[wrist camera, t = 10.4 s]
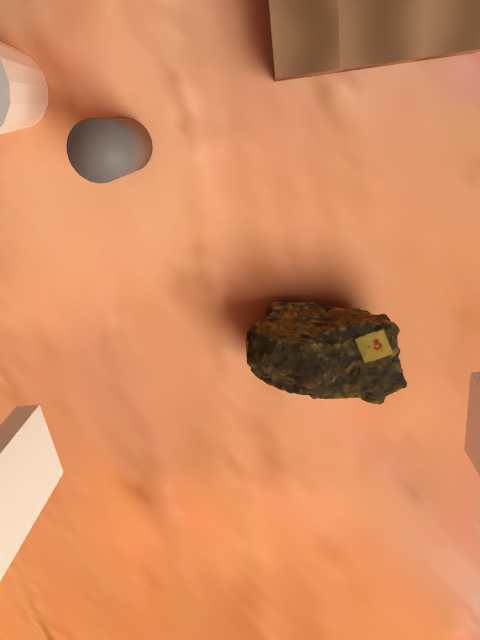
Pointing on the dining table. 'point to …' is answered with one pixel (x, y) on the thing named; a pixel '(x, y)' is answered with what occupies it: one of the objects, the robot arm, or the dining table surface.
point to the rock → (326, 351)
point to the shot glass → (20, 90)
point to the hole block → (367, 33)
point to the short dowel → (108, 148)
